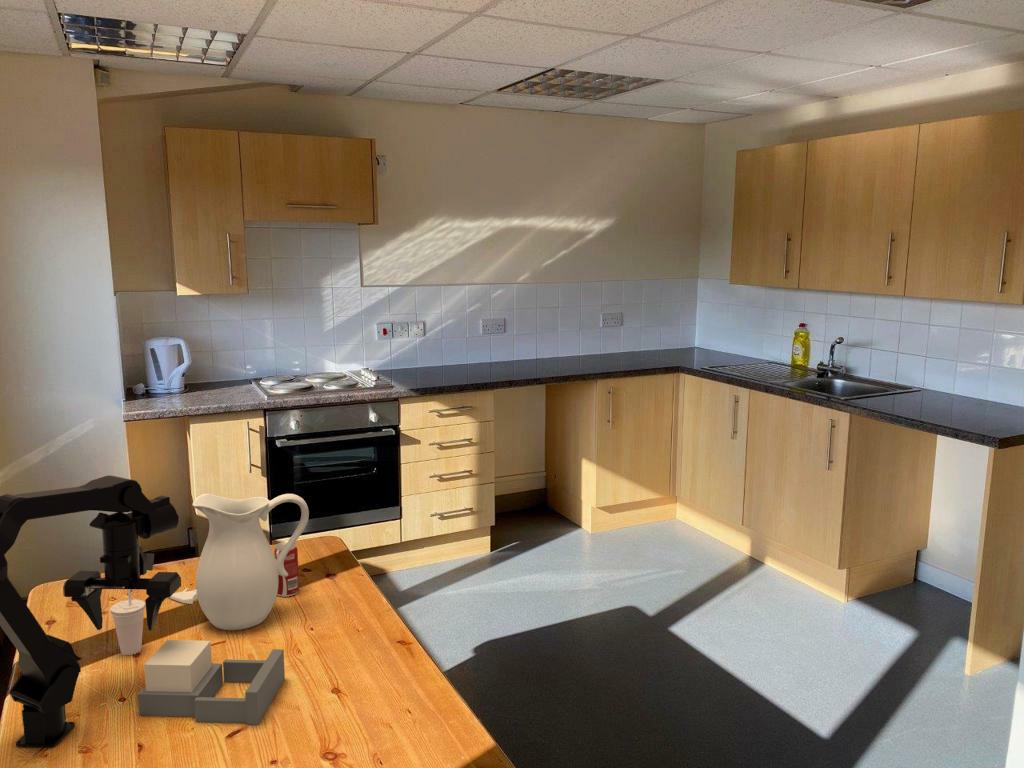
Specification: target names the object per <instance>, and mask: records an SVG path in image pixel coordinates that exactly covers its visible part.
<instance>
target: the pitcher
mask: <svg viewBox="0 0 1024 768" xmlns="http://www.w3.org/2000/svg"><path fill="white" fill-rule="evenodd" d="M284 503H294V504H297V505H298V506H299V508H300V512H301V513H300V514H301V516H300V519H299V522H298V525H297V526H296V528H295V530H294V532H293V533H292V535H291V537H290V538H289V539H288V540H287V541H288V542H287V541H286V542H287V543H286V545H285V546H284V548H283V549H282V551H281V552H280V554H279V555H278V557H277V559H275V555H274V551H273V549H272V546H271V544H270V543H269V541H268V539H267V536H266V534H265V532H264V531H263V529H262V525H261V522H260V519H261V521H263V522H267V521H268V516H269V515H268V514H269V513H270V512H271V511H272V509H274V508H276V507H277V506H278V505H281V504H284ZM192 507H193V508H194V509H197V510H198V511H199V512H201V513H202V514H204V515H205V517H206V518H207V521H208V523H209V529H208V534H207V537H206V541H205V542H204V545H203V549H202V552H201V553H200V558H199V561H198V564H197V570H196V575H195V576H196V578H195V589H196V591H197V597H198V599H197V600H198V604H199V606H200V608H201V611H202V612H203V614H204V615H205V616H206V618H207V620H208V621H209V622H210V623H211V624H212V625H213V626H214V627H215V628H217V629H220V630H225V631H239V630H245V629H246V630H247V629H249V628H253V627H255V626H257V625H259V624H261V623H263V621H265V620H266V618H267V617H268V616H269V614H270V612H271V610H272V609H273V607H274V604H275V602H276V600H277V596H278V595H277V592H278V575H281V576H288V573H287V572H286V570H285V568H284V559H285V557H286V555H287V553H288V552H289V550H290V549H291V547H292V546H293V545H294V543H296V542H297V540H298V539H299V538H300V536H301V535H302V533H303V532H304V530H305V528H306V526H307V524H308V522H309V515H310V510H309V507H308V504H307V503H306V500H304V498H303V497H301V496H299V495H297V494H295V493H284V494H283V493H282V494H281V495H278V496H276V497H274V498H273V499H271V500H270V499H268V498H267V497H265V496H254V497H248V498H243V499H235V498H229V497H224V496H221V495H216V494H212V493H203V494H200V495H198V496H197V497H196V498H195V499H194V500H193V502H192Z"/></svg>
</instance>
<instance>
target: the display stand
mask: <svg viewBox="0 0 1024 768" xmlns="http://www.w3.org/2000/svg"><path fill="white" fill-rule="evenodd" d="M284 652H285V651H284V649H281V648H280V649H278V648H277V649H276V648H274V649H273V648H272V650H271V652H270V653H269V654H268V656H267V657H266V659H265V660H262V659H224V660H223V662H222V663H219V662H218V663H215V662H212V667H211V668H210V669H209V670H208V672H207V673H206V674H205V676H204V677H203V678H202V680H201V681H200V682H199V683H198V685H197V686H196V687H195V689H194V690H193V691H192V692H156V691H146V684H145V685H144V686H143V687H142V689H141V690H140V691H139V692H138V693H137V703H138V704H137V705H138V714H139V715H138V716H145V717H147V716H148V717H183V718H184V717H187V718H189V717H190V718H191V717H192V718H194V717H195V723H226V724H227V723H228V724H229V723H232V724H233V723H234V724H238V723H239V724H246V726H251V725H252V726H259V725H260V722H261V721H262V720H263V718H264V716H265V715H266V713H267V711H268V709H269V708H270V705H272V702H274V700H275V697H276V695H277V693H278V692H279V690H280V688H281V687H282V685H283V683H284V681H285V679H286V676H285V674H286V673H285V653H284ZM224 683H242V684H243V683H246V684H247V683H249V686H248V687H247V689H246V690H245V692H244V694H245V695H244V697H215V696H216V694H217V693H218V691H219V690H220V688H221V687H222V686H223V684H224Z"/></svg>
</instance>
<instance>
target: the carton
mask: <svg viewBox="0 0 1024 768" xmlns="http://www.w3.org/2000/svg"><path fill="white" fill-rule="evenodd" d="M211 647H212V645H211V640H198V639H197V640H196V639H195V640H193V639H192V640H189V639H184V640H183V639H167V640H166V641H164V643H162V645H161V646H160V647H159V648H158V649H157V650H156V651H155V653H154V654H152V656H151V657H150V658H148V660H147V661H146V662H145V663H144V679H145V680H144V681H145V685H146V691H156V692H192V691H193V690H194V689H195V687H196V686H197V685H198V683H199V682H200V681H201V680H202V678H203V677H204V676H205V674H206V673H207V672H208V670H209V669H210V668H211V667H212V663H213V662H212V661H213V660H212V648H211Z"/></svg>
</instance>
